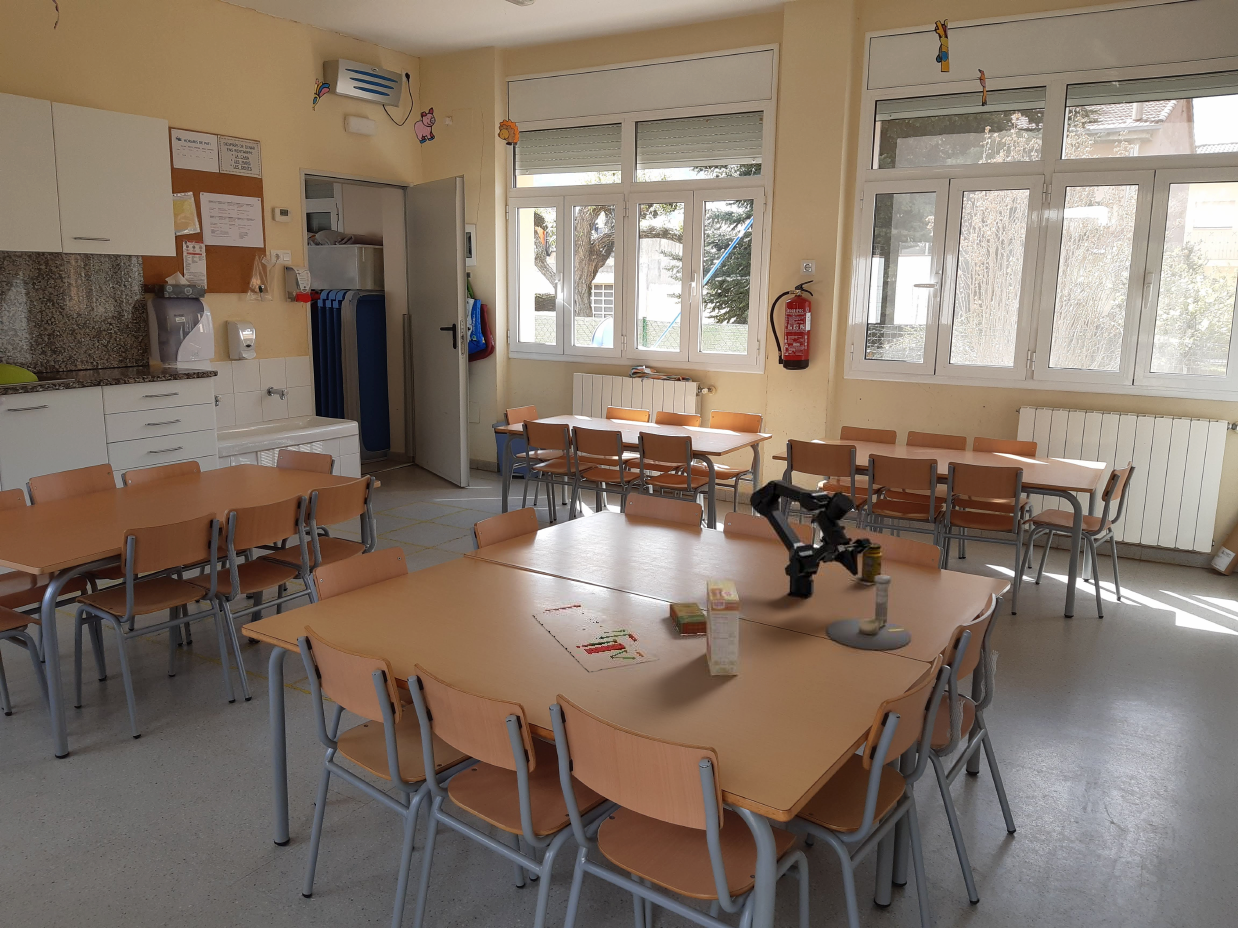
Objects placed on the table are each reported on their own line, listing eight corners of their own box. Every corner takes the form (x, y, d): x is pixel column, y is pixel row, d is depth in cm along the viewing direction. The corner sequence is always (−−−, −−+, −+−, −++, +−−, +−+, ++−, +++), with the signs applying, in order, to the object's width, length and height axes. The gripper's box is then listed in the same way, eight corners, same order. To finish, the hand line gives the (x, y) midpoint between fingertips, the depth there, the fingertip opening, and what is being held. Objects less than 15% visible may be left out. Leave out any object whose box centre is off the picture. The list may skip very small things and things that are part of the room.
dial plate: (816, 640, 238) (816, 637, 238) (839, 615, 257) (840, 613, 257) (900, 655, 228) (900, 653, 228) (918, 628, 246) (918, 626, 246)
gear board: (659, 652, 226) (588, 665, 219) (659, 661, 227) (588, 674, 219) (593, 599, 267) (532, 608, 259) (593, 607, 267) (532, 616, 260)
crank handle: (873, 635, 239) (875, 588, 236) (856, 631, 242) (857, 584, 240) (892, 622, 248) (894, 577, 246) (875, 618, 252) (877, 573, 249)
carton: (697, 615, 259) (697, 601, 259) (710, 635, 244) (710, 620, 243) (668, 616, 258) (669, 602, 257) (680, 637, 243) (680, 622, 242)
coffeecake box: (705, 652, 231) (706, 579, 228) (732, 652, 231) (734, 580, 227) (709, 675, 216) (710, 599, 213) (738, 675, 216) (740, 599, 213)
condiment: (886, 580, 289) (888, 545, 287) (868, 585, 285) (870, 549, 282) (868, 575, 295) (870, 540, 293) (851, 579, 291) (852, 544, 288)
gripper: (838, 538, 273) (862, 583, 265) (792, 546, 263) (816, 593, 256) (859, 519, 264) (885, 565, 257) (813, 526, 255) (838, 574, 248)
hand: (856, 575), depth 255 cm, fingers closed
